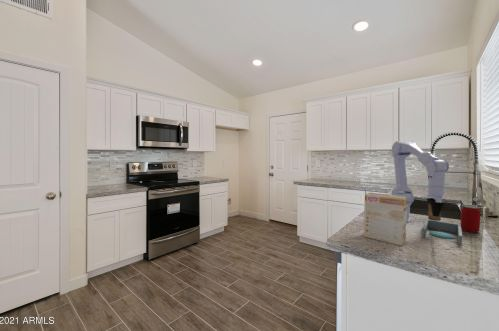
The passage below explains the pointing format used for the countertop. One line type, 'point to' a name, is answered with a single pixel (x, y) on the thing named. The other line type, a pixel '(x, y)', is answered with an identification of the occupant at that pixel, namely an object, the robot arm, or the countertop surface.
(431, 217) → the walnut cylinder
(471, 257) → the countertop surface
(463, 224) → the beverage can
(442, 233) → the pad
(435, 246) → the countertop surface
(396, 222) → the coffeecake box
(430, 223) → the grey angular frame piece
